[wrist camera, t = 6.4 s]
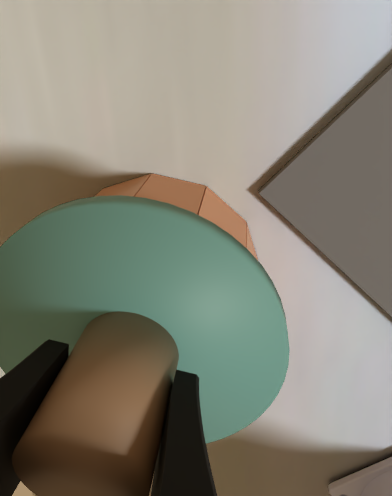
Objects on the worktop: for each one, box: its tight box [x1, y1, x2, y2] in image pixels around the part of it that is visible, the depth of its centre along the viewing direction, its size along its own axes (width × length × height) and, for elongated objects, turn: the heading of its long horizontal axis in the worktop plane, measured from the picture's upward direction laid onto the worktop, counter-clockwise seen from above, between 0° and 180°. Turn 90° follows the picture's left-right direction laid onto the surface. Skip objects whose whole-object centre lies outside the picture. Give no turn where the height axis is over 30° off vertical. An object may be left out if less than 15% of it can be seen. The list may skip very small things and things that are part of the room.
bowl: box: [96, 174, 258, 260], centre depth 15 cm, size 8×8×4 cm
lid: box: [0, 195, 289, 496], centre depth 10 cm, size 10×10×5 cm
